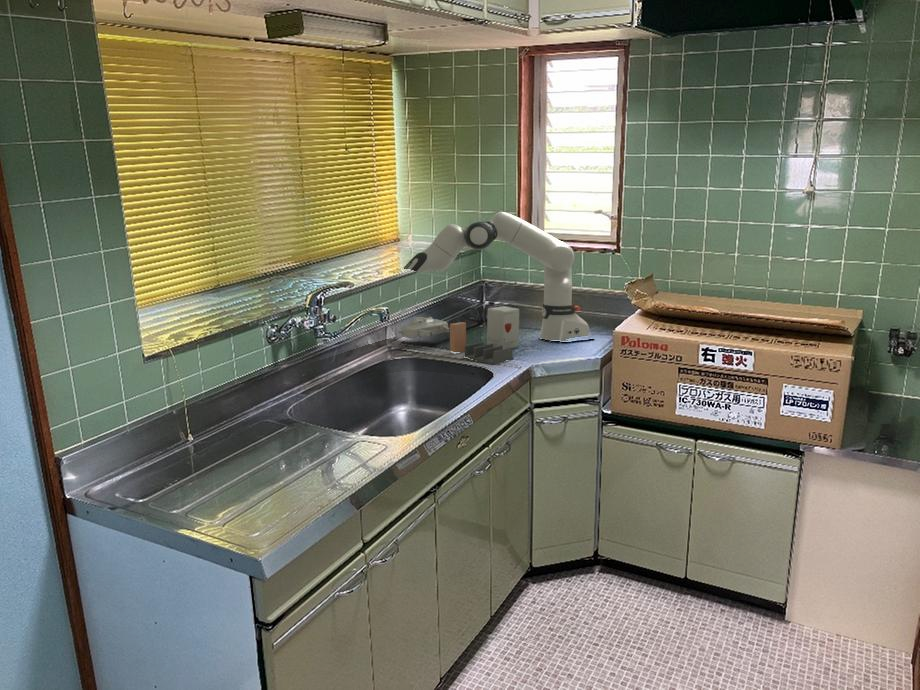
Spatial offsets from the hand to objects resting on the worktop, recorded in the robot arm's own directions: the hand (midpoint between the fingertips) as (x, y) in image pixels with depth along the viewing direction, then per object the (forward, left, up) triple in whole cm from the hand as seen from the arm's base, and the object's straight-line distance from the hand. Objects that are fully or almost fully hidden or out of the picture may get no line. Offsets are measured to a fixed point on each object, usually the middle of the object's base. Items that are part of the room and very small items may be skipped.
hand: (439, 332), depth 280 cm
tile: (-5, +9, -6) cm, 12 cm away
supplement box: (-24, +4, -7) cm, 25 cm away
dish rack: (-12, +22, -6) cm, 26 cm away
